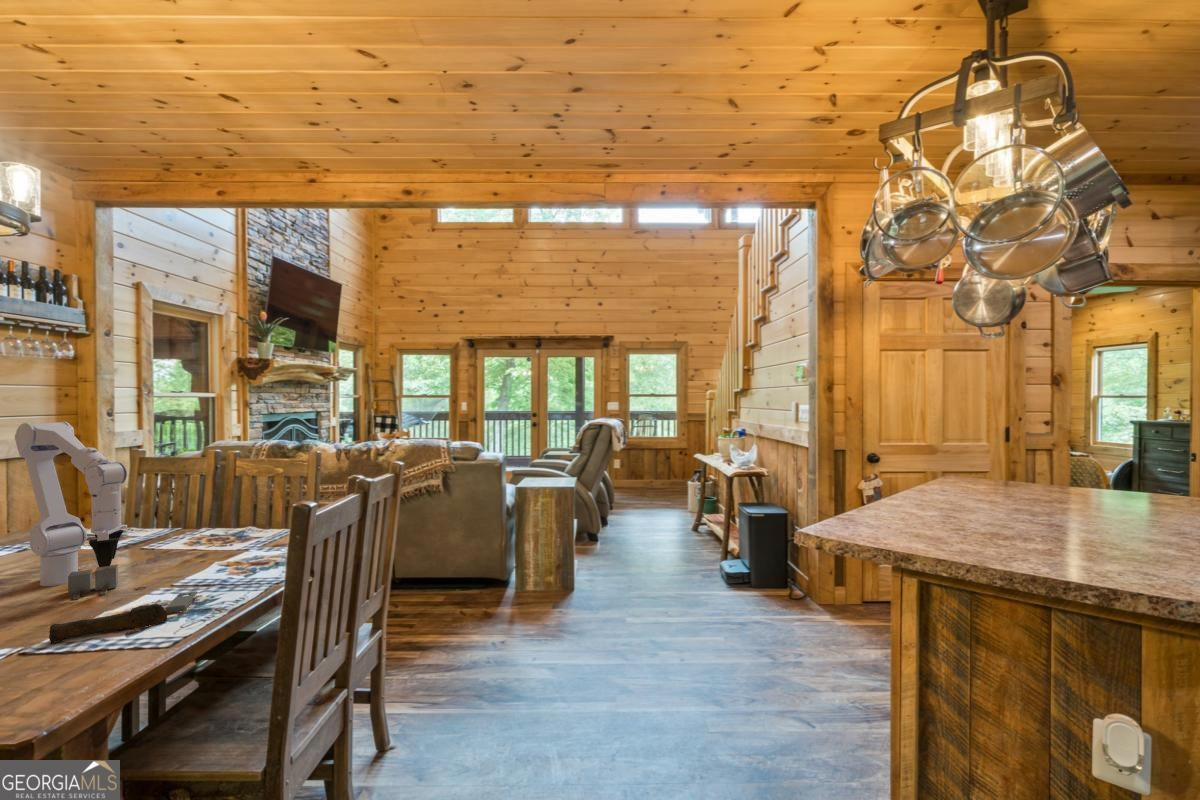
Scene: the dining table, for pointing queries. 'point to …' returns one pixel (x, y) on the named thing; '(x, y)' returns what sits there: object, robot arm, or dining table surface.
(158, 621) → the hand tool
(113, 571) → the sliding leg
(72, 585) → the fixed leg
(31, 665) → the dining table surface
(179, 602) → the bracket
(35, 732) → the dining table surface
